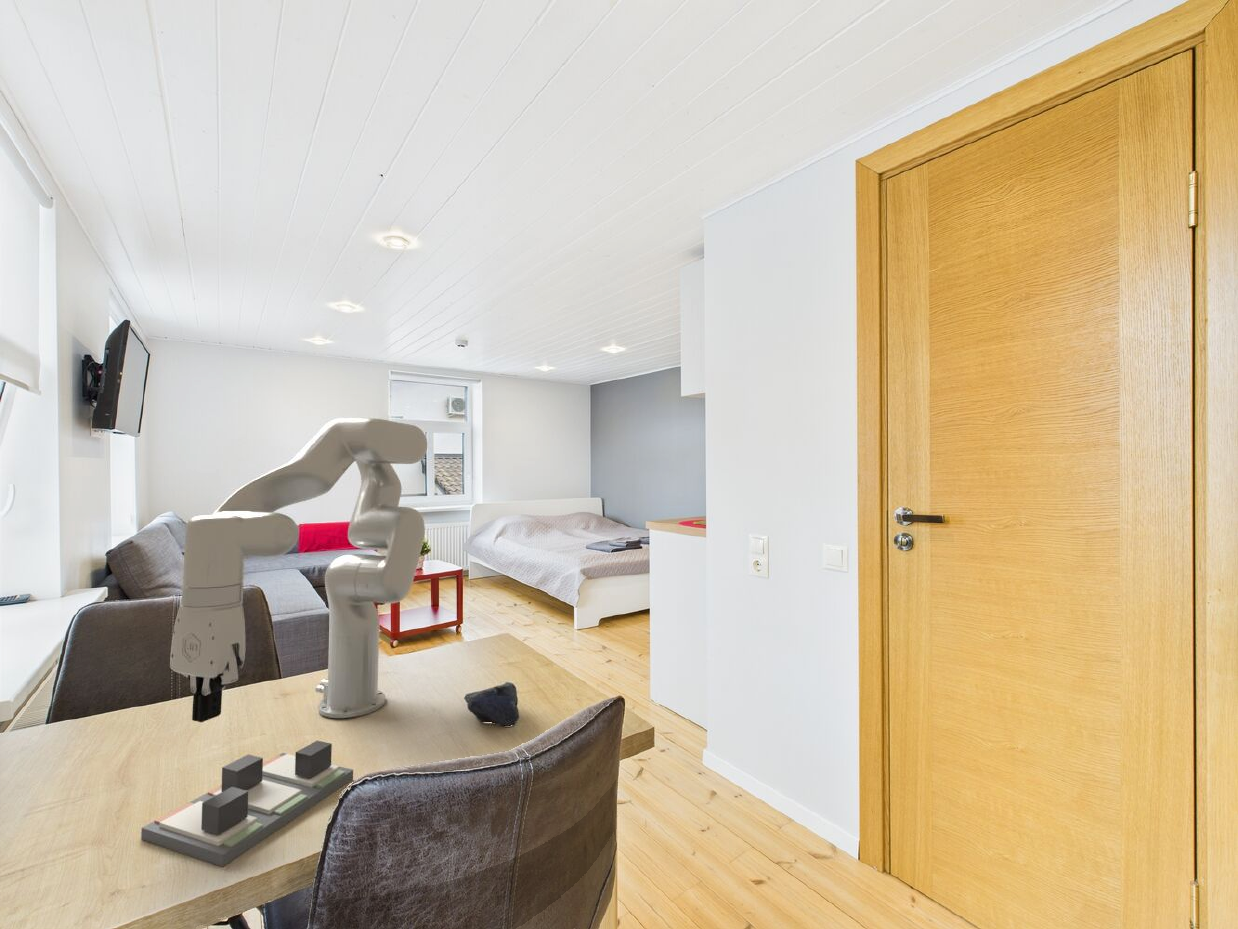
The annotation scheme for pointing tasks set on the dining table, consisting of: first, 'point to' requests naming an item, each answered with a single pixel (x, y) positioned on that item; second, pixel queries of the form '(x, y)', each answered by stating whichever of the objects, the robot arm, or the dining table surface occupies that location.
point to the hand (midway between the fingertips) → (206, 717)
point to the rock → (495, 704)
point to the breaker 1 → (224, 810)
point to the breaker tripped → (242, 773)
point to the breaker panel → (266, 812)
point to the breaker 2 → (313, 759)
